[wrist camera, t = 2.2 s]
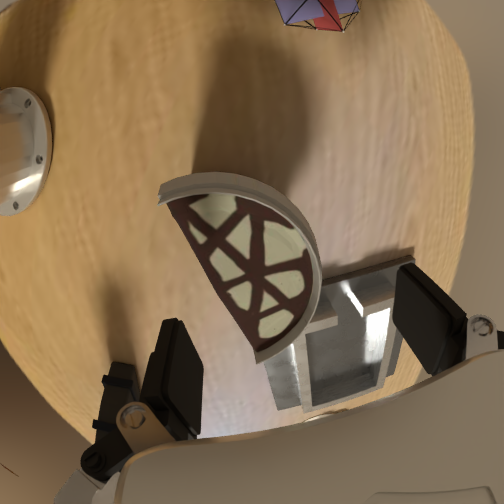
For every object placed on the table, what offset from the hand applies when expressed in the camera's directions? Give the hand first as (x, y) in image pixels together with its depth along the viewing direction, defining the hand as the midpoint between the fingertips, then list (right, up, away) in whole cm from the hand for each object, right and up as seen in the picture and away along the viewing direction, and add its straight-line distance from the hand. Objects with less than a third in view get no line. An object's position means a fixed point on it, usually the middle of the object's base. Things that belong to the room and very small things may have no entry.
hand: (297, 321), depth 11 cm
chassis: (+8, -8, +20) cm, 23 cm away
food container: (-2, +6, +12) cm, 13 cm away
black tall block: (-18, -16, +21) cm, 32 cm away
